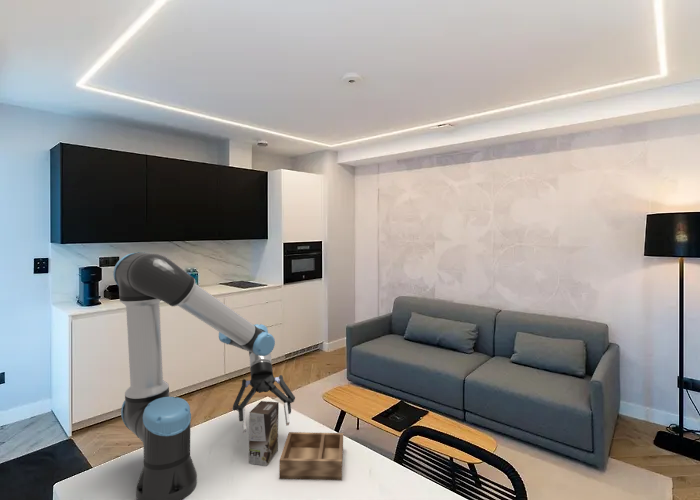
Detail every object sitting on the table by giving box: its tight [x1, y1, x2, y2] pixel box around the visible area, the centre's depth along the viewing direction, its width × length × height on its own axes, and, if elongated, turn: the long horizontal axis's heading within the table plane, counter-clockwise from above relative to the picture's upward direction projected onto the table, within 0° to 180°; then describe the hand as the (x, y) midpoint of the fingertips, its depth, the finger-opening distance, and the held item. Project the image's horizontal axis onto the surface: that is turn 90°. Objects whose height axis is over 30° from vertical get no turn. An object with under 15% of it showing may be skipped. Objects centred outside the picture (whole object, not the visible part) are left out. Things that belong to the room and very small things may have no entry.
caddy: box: [278, 431, 344, 481], centre depth 118 cm, size 18×16×6 cm
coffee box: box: [248, 400, 280, 467], centre depth 121 cm, size 9×6×16 cm
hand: (266, 427), depth 122 cm, fingers open, 13 cm apart
